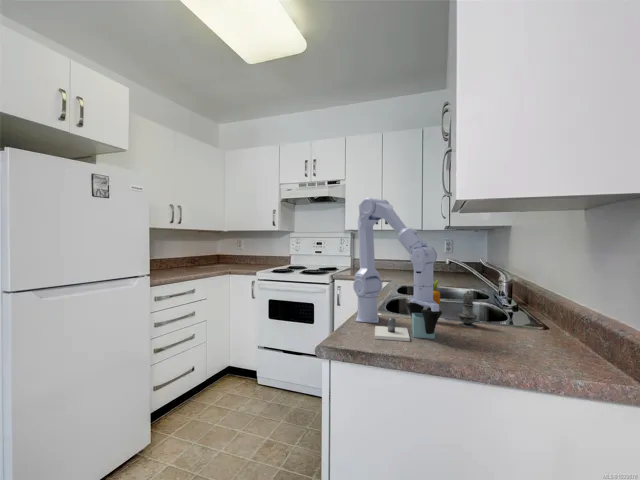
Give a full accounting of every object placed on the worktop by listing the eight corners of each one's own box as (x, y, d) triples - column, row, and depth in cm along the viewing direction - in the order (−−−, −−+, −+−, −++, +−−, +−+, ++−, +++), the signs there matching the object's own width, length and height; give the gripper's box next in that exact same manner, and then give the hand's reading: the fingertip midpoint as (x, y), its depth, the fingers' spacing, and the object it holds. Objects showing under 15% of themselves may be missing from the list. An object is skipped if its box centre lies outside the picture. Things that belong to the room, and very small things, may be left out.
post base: (375, 328, 99) (375, 313, 99) (406, 331, 97) (407, 315, 97) (374, 338, 90) (374, 321, 90) (409, 341, 88) (409, 324, 88)
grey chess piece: (478, 328, 100) (479, 292, 100) (459, 327, 102) (459, 291, 102) (475, 324, 106) (476, 289, 106) (457, 322, 108) (457, 288, 108)
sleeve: (411, 331, 97) (411, 312, 97) (431, 332, 96) (431, 313, 96) (413, 337, 91) (413, 317, 91) (434, 338, 90) (434, 318, 90)
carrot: (422, 321, 108) (423, 279, 108) (429, 319, 112) (430, 278, 112) (436, 324, 105) (436, 281, 105) (442, 322, 108) (443, 280, 108)
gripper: (400, 282, 100) (400, 323, 100) (423, 289, 86) (422, 337, 86) (420, 281, 101) (420, 322, 101) (446, 289, 87) (445, 336, 87)
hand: (422, 329), depth 94 cm, fingers closed on sleeve, 7 cm apart
